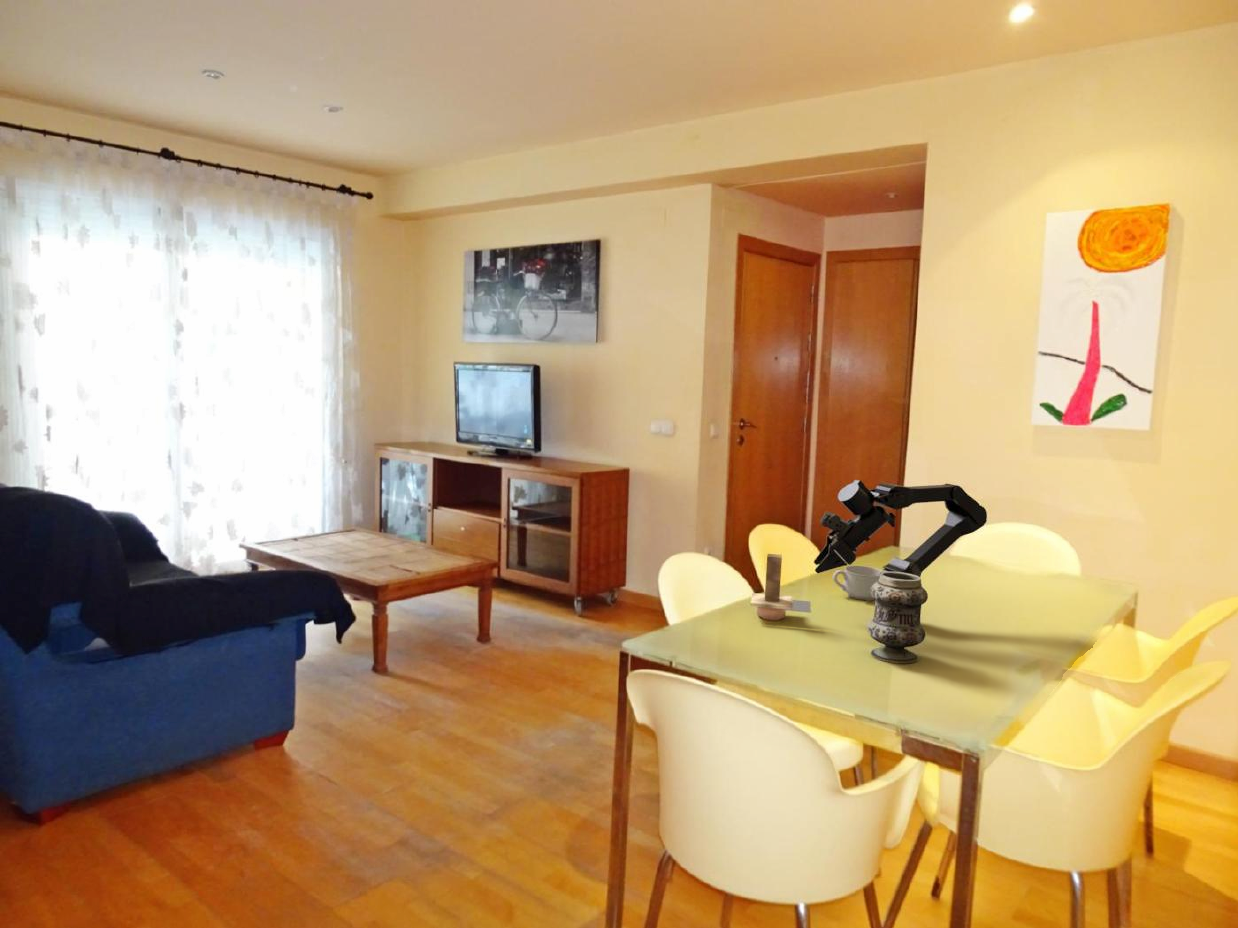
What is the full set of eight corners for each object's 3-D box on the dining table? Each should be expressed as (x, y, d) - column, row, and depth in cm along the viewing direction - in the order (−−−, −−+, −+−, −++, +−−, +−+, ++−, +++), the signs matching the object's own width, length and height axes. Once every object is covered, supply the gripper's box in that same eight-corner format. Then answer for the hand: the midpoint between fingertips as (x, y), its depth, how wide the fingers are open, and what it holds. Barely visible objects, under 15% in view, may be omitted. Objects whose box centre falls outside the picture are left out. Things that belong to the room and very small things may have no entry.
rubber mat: (809, 602, 233) (809, 601, 233) (810, 613, 222) (810, 612, 222) (767, 599, 235) (767, 597, 235) (766, 609, 224) (766, 608, 224)
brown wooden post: (792, 599, 219) (795, 553, 218) (792, 609, 210) (795, 561, 208) (752, 596, 221) (754, 550, 220) (750, 605, 212) (753, 558, 210)
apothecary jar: (928, 654, 192) (934, 574, 190) (916, 669, 182) (923, 585, 180) (873, 644, 198) (878, 566, 196) (858, 658, 188) (864, 576, 186)
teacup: (878, 594, 245) (880, 566, 244) (886, 604, 234) (888, 575, 234) (828, 591, 246) (829, 563, 246) (833, 601, 236) (835, 571, 235)
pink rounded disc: (789, 622, 213) (790, 606, 213) (762, 622, 212) (763, 606, 211) (779, 614, 220) (779, 598, 220) (752, 614, 219) (753, 599, 218)
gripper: (839, 495, 221) (792, 536, 224) (843, 507, 203) (793, 551, 206) (869, 528, 220) (822, 568, 223) (877, 542, 202) (825, 586, 205)
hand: (815, 567), depth 215 cm, fingers open, 9 cm apart
